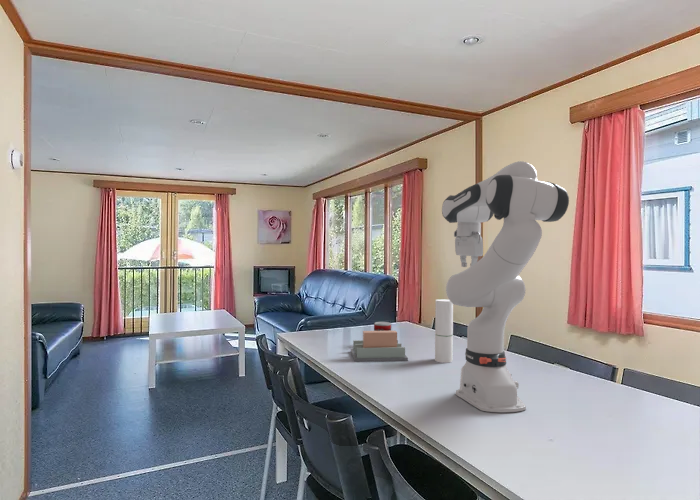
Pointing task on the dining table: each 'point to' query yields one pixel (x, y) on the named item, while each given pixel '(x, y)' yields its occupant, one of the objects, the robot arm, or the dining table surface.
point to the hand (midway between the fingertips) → (468, 267)
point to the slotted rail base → (377, 353)
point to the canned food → (382, 326)
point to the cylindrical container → (444, 331)
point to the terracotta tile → (379, 339)
